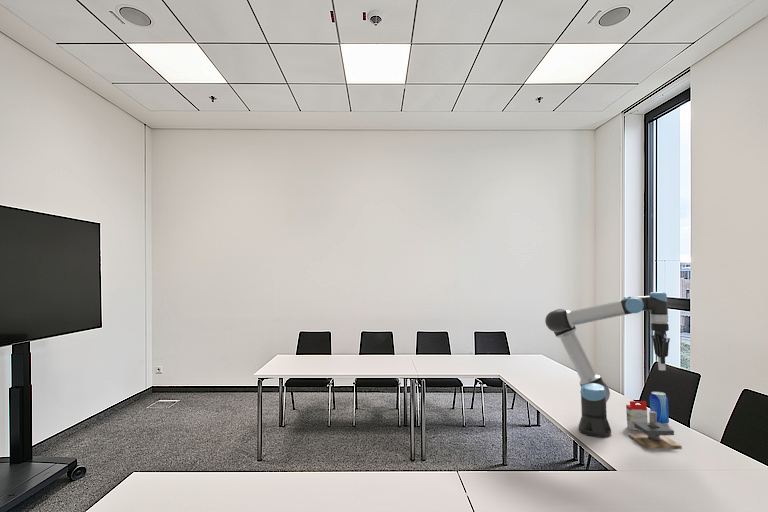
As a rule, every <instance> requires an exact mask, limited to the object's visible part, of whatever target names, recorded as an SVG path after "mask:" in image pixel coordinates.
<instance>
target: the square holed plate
mask: <svg viewBox="0 0 768 512" xmlns="http://www.w3.org/2000/svg"><path fill="white" fill-rule="evenodd" d="M634 427H635V428H637V429H638V430H637V431H640V432H642V434H646V435H665V436H675V431H674V430H673V429H671V428H670V427H667V425H663V424H661V423H657V428H650V422H648V423H634Z"/></svg>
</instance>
